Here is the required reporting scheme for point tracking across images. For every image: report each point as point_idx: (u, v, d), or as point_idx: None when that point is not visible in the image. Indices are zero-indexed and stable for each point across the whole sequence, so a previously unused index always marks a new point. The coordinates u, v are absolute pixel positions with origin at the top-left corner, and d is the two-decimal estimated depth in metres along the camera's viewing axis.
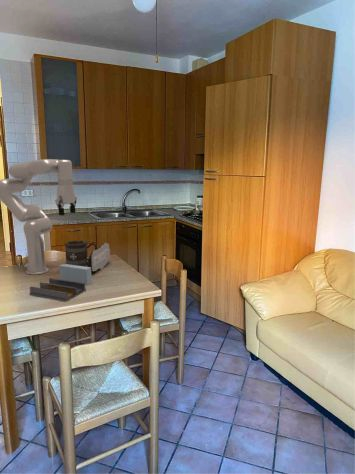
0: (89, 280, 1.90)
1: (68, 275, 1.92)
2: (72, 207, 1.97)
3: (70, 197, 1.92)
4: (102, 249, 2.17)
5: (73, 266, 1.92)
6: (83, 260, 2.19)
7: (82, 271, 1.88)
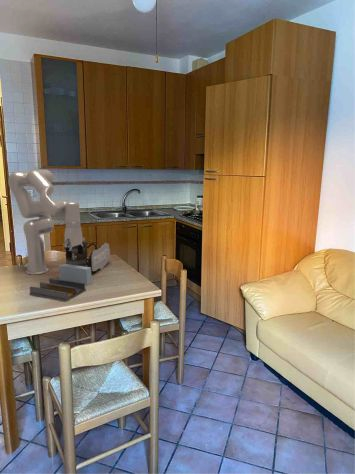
0: (89, 280, 1.90)
1: (68, 275, 1.92)
2: (80, 248, 1.93)
3: (78, 239, 1.88)
4: (102, 249, 2.17)
5: (73, 266, 1.92)
6: (83, 260, 2.19)
7: (82, 271, 1.88)
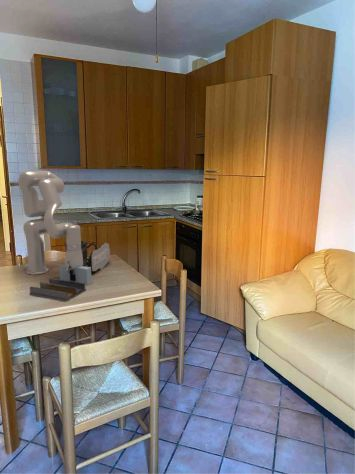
0: (89, 280, 1.90)
1: (68, 275, 1.92)
2: None
3: (78, 261, 1.91)
4: (102, 249, 2.17)
5: None
6: (83, 260, 2.19)
7: (82, 270, 1.88)
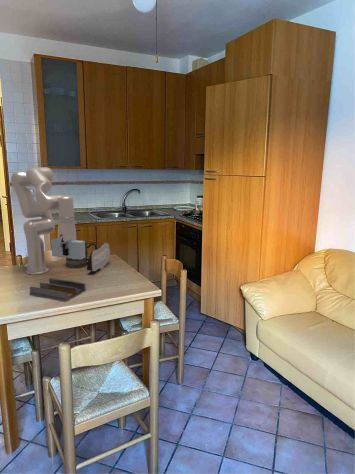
0: (83, 254, 1.82)
1: (60, 249, 1.83)
2: None
3: (71, 235, 1.82)
4: (102, 249, 2.17)
5: None
6: (83, 260, 2.19)
7: (76, 244, 1.79)
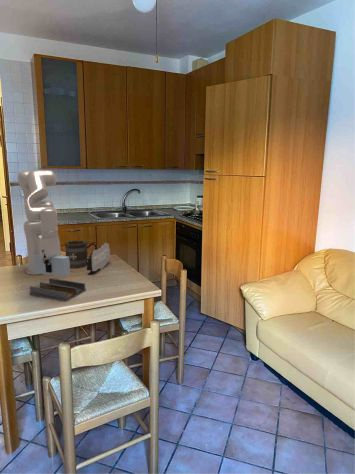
0: (67, 271, 1.68)
1: (43, 266, 1.70)
2: None
3: (55, 250, 1.69)
4: (102, 249, 2.17)
5: None
6: (83, 260, 2.19)
7: (59, 260, 1.66)
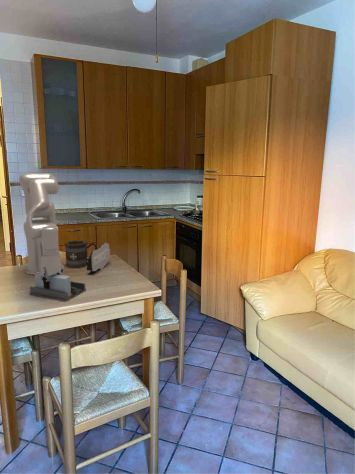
0: (68, 290, 1.71)
1: None
2: None
3: (56, 267, 1.71)
4: (102, 249, 2.17)
5: None
6: (83, 260, 2.19)
7: (60, 280, 1.68)
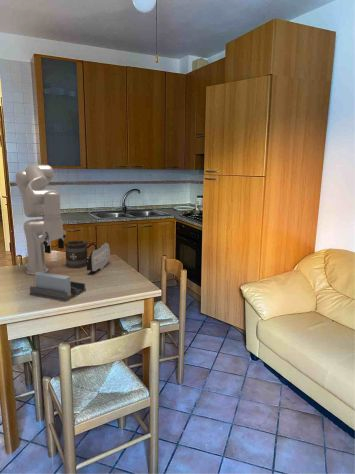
0: (68, 290, 1.71)
1: (44, 285, 1.72)
2: (60, 242, 1.78)
3: (58, 232, 1.73)
4: (102, 249, 2.17)
5: (50, 275, 1.72)
6: (83, 260, 2.19)
7: (60, 280, 1.68)
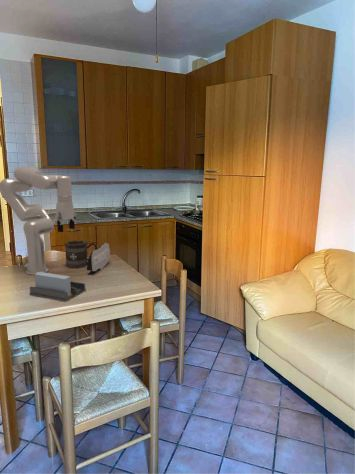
0: (68, 290, 1.71)
1: (44, 285, 1.72)
2: (71, 223, 1.95)
3: (69, 213, 1.89)
4: (102, 249, 2.17)
5: (50, 275, 1.72)
6: (83, 260, 2.19)
7: (60, 280, 1.68)
